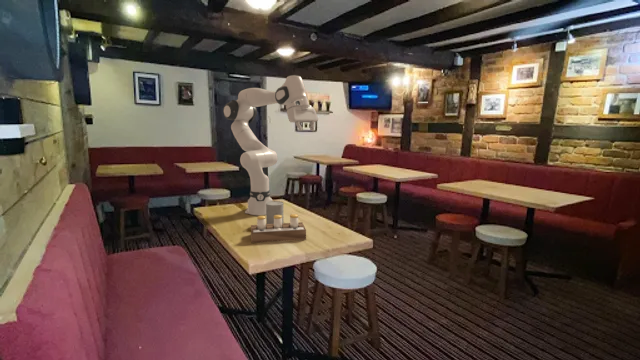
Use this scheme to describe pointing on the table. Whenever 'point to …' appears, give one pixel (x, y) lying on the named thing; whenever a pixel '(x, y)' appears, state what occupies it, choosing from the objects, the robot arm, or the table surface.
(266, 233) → the button board
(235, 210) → the table surface
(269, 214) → the grey concrete cylinder
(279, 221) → the middle button
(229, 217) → the table surface
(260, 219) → the button
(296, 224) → the button
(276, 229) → the strip
